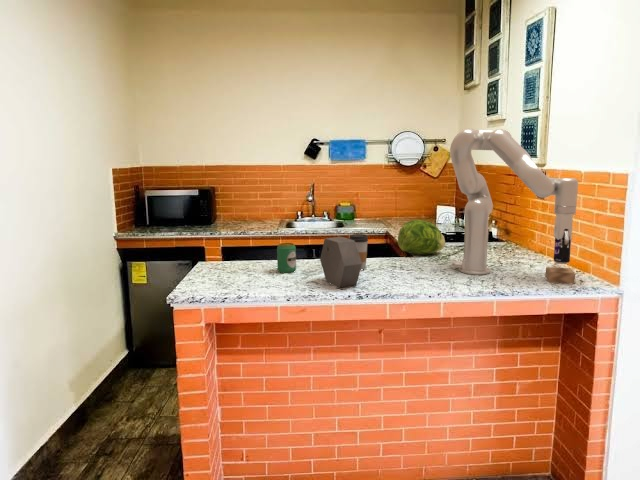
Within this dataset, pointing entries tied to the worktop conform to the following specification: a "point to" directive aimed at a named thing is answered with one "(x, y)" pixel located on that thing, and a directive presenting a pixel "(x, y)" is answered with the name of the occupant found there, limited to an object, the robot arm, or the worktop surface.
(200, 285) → the worktop surface
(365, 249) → the coffee cup
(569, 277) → the plinth
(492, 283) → the worktop surface
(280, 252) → the beverage can
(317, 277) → the worktop surface
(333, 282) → the dark hexagonal prism
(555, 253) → the beverage can
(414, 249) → the lettuce
